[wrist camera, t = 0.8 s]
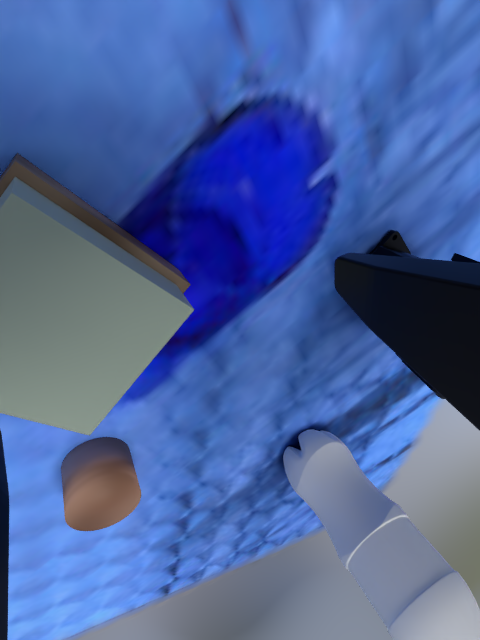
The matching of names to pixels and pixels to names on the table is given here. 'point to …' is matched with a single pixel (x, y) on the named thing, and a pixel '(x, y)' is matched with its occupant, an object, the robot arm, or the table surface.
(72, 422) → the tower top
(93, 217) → the tower base
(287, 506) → the table surface
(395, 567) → the water bottle
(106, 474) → the puck
